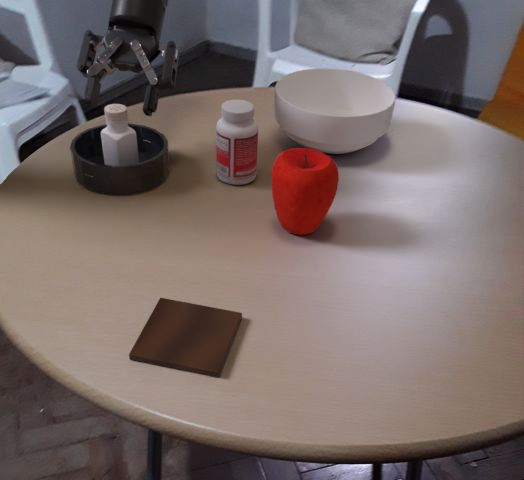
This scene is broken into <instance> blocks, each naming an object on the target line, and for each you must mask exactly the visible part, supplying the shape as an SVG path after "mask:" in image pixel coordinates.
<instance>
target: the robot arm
mask: <svg viewBox="0 0 524 480" xmlns="http://www.w3.org/2000/svg"><path fill="white" fill-rule="evenodd" d="M168 6H169V0H112V2H111V6H110V7H111V8H110V13H109V18H108V26H107V30H106V33H104V35H100V34H95V33H94V32H93V31H92V30H91V29H86V30H85V31H84V35H83V38H82V42H81V45H80V48H79V49H80V50H79V53H78V57H77V60H76V69H77V70H78V72H79V73H80V74H81V75H82V76H83V77H84V78H86V84H85V89H84V93H83V98H84V100H85V101H86V104H87V105H88V106H89V107H90V108H93V109H96V108H97V107H98V102H99V98H100V92H101V89H102V83H101V82H102V81H103V80H104V79H105V78H106V77H107V76H108V75H109V76H110V75H112V74H113V73H114V72H115V71H116V70H117V69H118V71H120V72H132V73H135V74H140V72H144V74H145V76H146V78H147V80H148V82H149V85H148V84H147V85H146V89H145V94H144V100H143V105H142V112H143V115H145V116H147V117H152V115H153V114H154V113H156V111H157V109H158V104H159V99H160V95H161V93H162V91H164V90H169V91H171V90H174V89H175V87H176V80H177V73H178V67H179V66H178V65H179V58H180V51H179V49H178V47H177V45H176V43H175V41H174V40H169V41H168V42H167V43H160V40H161V36H162V33H163V27H164V22H165V15H166V12H167V8H168ZM102 47H104V50H103V51H102V52H101V53H100V54H98V56H97V52H100V51H101V50H100V49H101V48H102ZM160 55H161V56H162V58H163V60H164V62H163V69H162V76H158V75H157V73H156V71H155V68H154V67H153V64H152V63H153V62H155V60H156V59H157V58H158V57H159V56H160ZM96 56H97V57H96ZM95 58H96V59H95ZM95 60H96V61H95Z"/></svg>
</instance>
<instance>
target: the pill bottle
mask: <svg viewBox="0 0 524 480" xmlns="http://www.w3.org/2000/svg"><path fill="white" fill-rule="evenodd" d="M220 115H221V117H220V118H219V120H218V121H217V122H216V126H215V127H216V128H215V132H216V135H215V139H216V141H215V143H216V144H215V146H216V151H215V152H216V156H215V157H216V176H217V178H218V179H219V180H220V181H221V182H223V183H225V184H228V185H234V186H242V185H246V184H249V183H251V182H253V181H254V180H255V179H256V178H257V171H258V145H259V124H258V122H257V121H256V119H254V116H255V105H254V103H252V102H250V101H248V100H245V99H230V100H226V101H224V102H222V103H221V111H220Z"/></svg>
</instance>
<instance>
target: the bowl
mask: <svg viewBox="0 0 524 480" xmlns="http://www.w3.org/2000/svg"><path fill="white" fill-rule="evenodd" d="M396 98H397V97H396V95H395V91H394V90H393V88H392V87H390V86H389V85H388V84H387V83H385V82H384V81H382V80H380V79H378V78H377V77H374V76H371V75H369V74H366V73H361V72H358V71H353V70H347V69H340V68H330V67H329V68H328V67H327V68H325V67H324V68H317V67H316V68H308V69H307V68H306V69H301V70H296V71H293V72H289V73H288V74H286V75H284V76H282V77H281V78H279V79H278V80H277V81H276V84H275V85H274V119H275V121H276V123H277V124H278V125H279V126H280V127H281V129H282V131H283V133H284V134H285V135H286V136H287V137H289V138H290V139H292V140H293V141H294V142H296V143H297V144H298V145H300V146H302V147H303V148H307V149H313V150H317V151H320V152H322V153H324V154H334V155H335V154H336V155H338V154H339V155H340V154H348V153H349V154H350V153H353V152H357V151H358V150H361V149H364V148H366V147H368V146H370V145H372V144H374V143H375V142H377V140H379V138H381V137H382V136H384V135H385V134H386V133H387V132H388V130H389V129H390V125H391V121H392V118H393V114H394V109H395V105H396V100H397V99H396Z"/></svg>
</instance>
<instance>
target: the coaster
mask: <svg viewBox="0 0 524 480" xmlns="http://www.w3.org/2000/svg"><path fill="white" fill-rule="evenodd" d="M242 319H243V313H242V312H240V311H235V310H229V309H223V308H218V307H213V306H207V305H204V304H203V305H202V304H197V303H191V302H186V301H181V300H177V299H176V300H175V299H171V298H165V297H159V299H158V301H157V302H156V305H155V306H154V308H153V310H152V311H151V314H150V315H149V317H148V319H147V321H146V323H145V325H144V326H143V328H142V330H141V331H140V334H139V335H138V337H137V339H136V341H135V342H134V344H133V346H132V348H131V350H130V352H129V354H128V357H129V360H130V361H136V362H137V361H138V362H141V363H147V364H151V365H157V366H162V367H166V368H171V369H177V370H179V371H186V372H191V373H195V374H202V375H204V376H205V375H206V376H211V377H215V378H220V375H221V373H222V370H223V368H224V365H225V362H226V361H227V357H228V355H229V352H230V349H231V347H232V344H233V342H234V339H235V337H236V334H237V331H238V330H239V329H238V328H239V327H240V323H241V322H242Z"/></svg>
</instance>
